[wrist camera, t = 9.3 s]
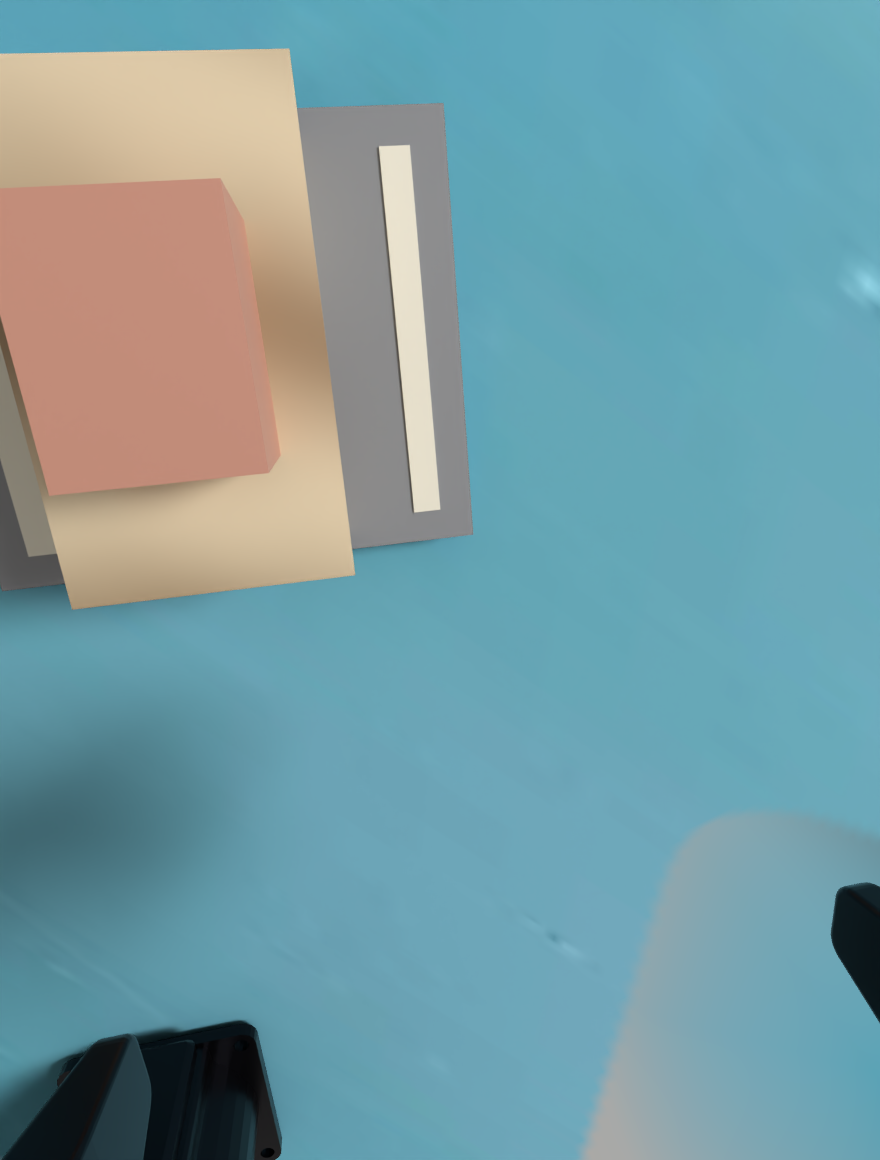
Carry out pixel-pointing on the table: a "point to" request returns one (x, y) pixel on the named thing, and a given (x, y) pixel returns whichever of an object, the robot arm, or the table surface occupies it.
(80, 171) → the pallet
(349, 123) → the dock
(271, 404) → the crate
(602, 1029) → the table surface
